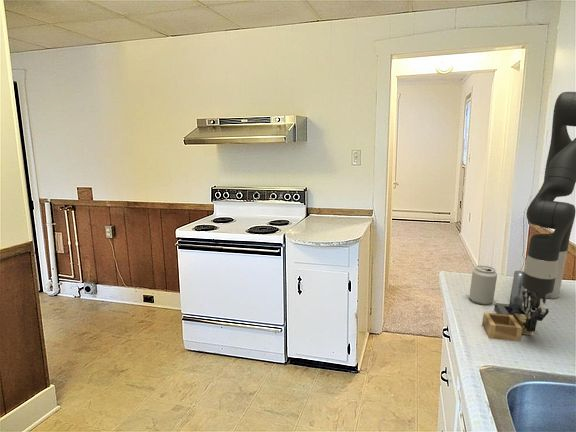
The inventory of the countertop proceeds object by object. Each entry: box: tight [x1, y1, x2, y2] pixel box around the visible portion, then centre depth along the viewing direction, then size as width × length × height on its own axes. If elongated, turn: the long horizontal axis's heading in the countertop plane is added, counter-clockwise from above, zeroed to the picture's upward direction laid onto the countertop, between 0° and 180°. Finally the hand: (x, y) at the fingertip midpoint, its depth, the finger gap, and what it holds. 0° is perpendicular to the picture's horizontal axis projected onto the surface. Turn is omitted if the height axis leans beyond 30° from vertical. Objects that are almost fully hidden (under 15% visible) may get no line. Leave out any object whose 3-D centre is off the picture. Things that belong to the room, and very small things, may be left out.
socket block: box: [493, 302, 527, 317], centre depth 128 cm, size 9×9×2 cm
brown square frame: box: [481, 311, 522, 342], centre depth 119 cm, size 8×8×4 cm
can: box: [468, 264, 498, 306], centre depth 139 cm, size 8×8×12 cm
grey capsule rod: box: [508, 270, 526, 314], centre depth 126 cm, size 4×4×15 cm
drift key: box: [514, 313, 533, 336], centre depth 121 cm, size 7×3×4 cm, turn 169°
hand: (529, 330), depth 116 cm, fingers closed
